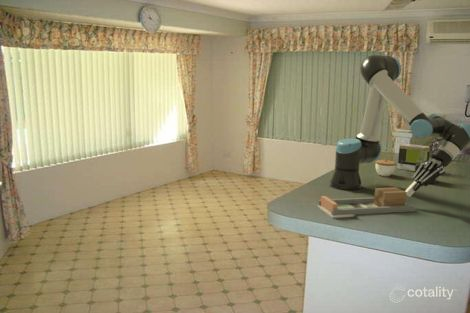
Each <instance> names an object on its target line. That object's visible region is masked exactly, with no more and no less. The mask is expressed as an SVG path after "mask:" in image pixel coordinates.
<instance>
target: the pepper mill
mask: <svg viewBox="0 0 470 313" xmlns="http://www.w3.org/2000/svg"><path fill="white" fill-rule="evenodd" d="M438 147H439V146H438ZM438 147H436V148H435V151H436V150H437V149H438ZM430 157H432V154H431V150H430V151H427V160H426V161H423V162H424V163H425V162H427V161H428V160H430ZM420 164H421V162H419V163H417V164H416V166H415V171H414V173H415V172H416V171H417V169H418V168H419V167H420ZM438 178H439V177H437V178H436V179H435V180H434V181H432V182H431V183H430V184H429V185H436V184H437V183H438V182H439V180H438Z"/></svg>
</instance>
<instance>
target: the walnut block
mask: <svg viewBox="0 0 470 313" xmlns="http://www.w3.org/2000/svg"><path fill="white" fill-rule="evenodd" d="M373 197H374V205H376V206H378V207H385V206H404V205H406V201H407V196H406V192H405V190H403V189H401V188H398V187H380V188H379V187H377V188H375V189H374V196H373Z"/></svg>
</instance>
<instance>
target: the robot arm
mask: <svg viewBox="0 0 470 313" xmlns="http://www.w3.org/2000/svg"><path fill="white" fill-rule="evenodd" d="M359 70H360V74H361V77H362V79H363V80H364V81H365V82H366V83H367V85H369V87H370V88H369V91H368V97H367V101H366V106H365V110H364V113H363V114H364V115H363V118H362V123H361V128H360V131H359V133H357V134H356V135H355V138H342V139H340V140H338V141H337V142H336V147H335V160H334V161H335V164H334V171H333V173H332V175H331V178H330V183H329V186H330V187H333V188H335V189H338V190H345V191H356V190H360V189H361V188H362V179H361V176H360V164H370V163H372V162H376V160H379V157H380V156H381V154H382V146H381V143H380V142H381V140H380V137H379V131H380V127H381V122H382V118H383V114H384V112H385V111H384V110H385V106H386V103H388V104H389V106H391V107H392V108H393V109H394V110H395V112H397V114H399V116H400V117H401V118H402V119H403V120H404V121H405V122H406V124H408V126H410V127H409V130H410V134H412V136H413V137H415V138H420V139H423V138H429V137H436V136H438V137H439V138H441V139H444V141H443V142H442V143H441V144H440V145H439V146H438V149H437V150H436V149H435V151H434V152H432V154H431V155H432V156H431V157H430V158H429V160H428V161H427V162H425V163H424V162H423V161H422V162H421V164H420V167H419V168H418V169H417V171H416V172H415V171H414V174H413V175H412V177H411V179H412V183H411V184H409V186H407V188H406V189H405V190H404V191H405V192H406V198H411V197H412V195H413V194H414V193H415V192H416V191H418V190H419V189H420V188H421V187H423V186H424V187H427V186H428V185H431V184H430V183H431V182H432V181H434V180H435V179H436V178H437V177H438V178H439V177H440V176H442V175H443V174H446V171H445V168H446V167H448V166H449V165H450V164H451V163H452V162H453V160H455V158H456V157H457V156H458V155H459V154H460V153H461V152H462V151H463V150H464V149H465V148H466V147H467V146H468V145H469V144H470V124H469V123H466V122H462V123H460V124H455V123H453V122H452V121H450V120H447V119H446V118H443V116H441V115H438V114H436V113H433V114H430V115H429V116H427V115H426V114H425V113H424V111H423V110H421V108H419V107H418V106H417V104H416V103H415V102H414V100H412V99H411V98H410V97H409V96H408V95H407V94H406V92H404V91H403V90H402V88H401V87H400V86H399V85H397V83H396V82H395V81H396V80H397V78H399V77H400V75H401V72H402V65H401V62H400V61H399V59H398V58H397V57H394V56H392V55H391V56H390V55H382V54H380V55H379V54H372V55H371V54H370V55H368V56H367V57H365V58H364V59H363V61H362V62H361V63H360V69H359ZM438 178H437V179H438Z"/></svg>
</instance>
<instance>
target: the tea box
mask: <svg viewBox="0 0 470 313" xmlns="http://www.w3.org/2000/svg"><path fill="white" fill-rule="evenodd" d="M427 151H430V152H431V146H428V145H418V144H410V143H409V144H408V143H404V144H400V145H399V149H398V159H397V169H399V170H403V169H404V170H406V171H411V172H415V166H416V164H417V163H419V162H422V161H426V160H427Z"/></svg>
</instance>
